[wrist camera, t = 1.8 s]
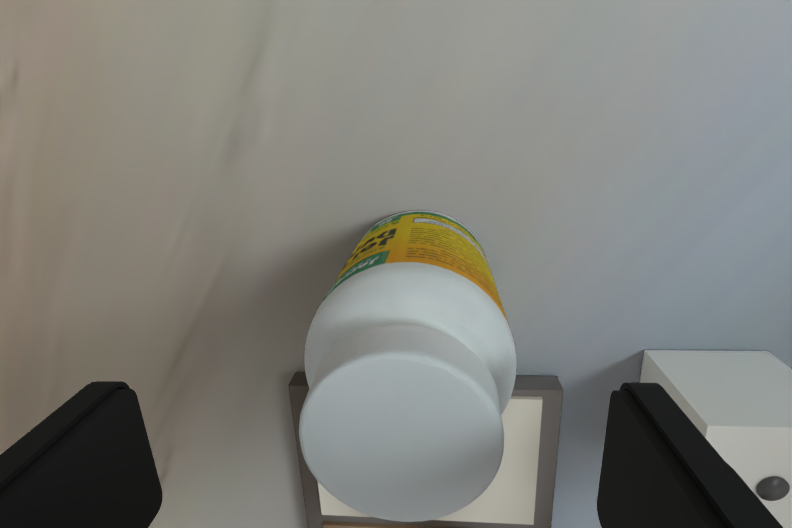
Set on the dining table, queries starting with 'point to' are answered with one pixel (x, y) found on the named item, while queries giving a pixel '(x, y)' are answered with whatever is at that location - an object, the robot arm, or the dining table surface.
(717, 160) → the dining table surface
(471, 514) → the game strip
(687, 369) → the die
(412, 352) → the supplement bottle
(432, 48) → the dining table surface
